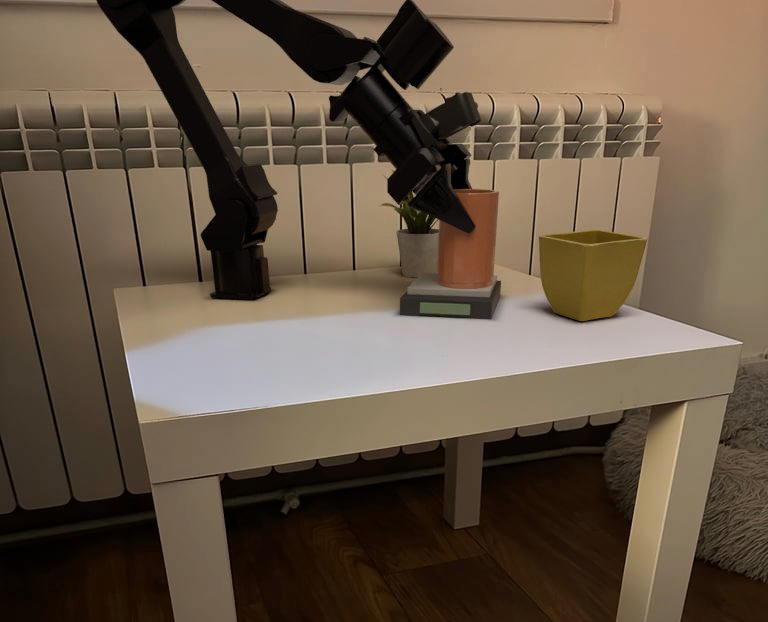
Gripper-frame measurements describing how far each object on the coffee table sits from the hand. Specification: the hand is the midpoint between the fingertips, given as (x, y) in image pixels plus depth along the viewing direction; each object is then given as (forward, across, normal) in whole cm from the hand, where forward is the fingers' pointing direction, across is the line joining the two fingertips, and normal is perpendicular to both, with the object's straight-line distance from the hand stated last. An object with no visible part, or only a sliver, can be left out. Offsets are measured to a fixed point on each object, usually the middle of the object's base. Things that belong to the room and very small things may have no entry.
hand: (478, 226), depth 87 cm
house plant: (-1, +19, +15) cm, 24 cm away
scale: (+5, 0, +9) cm, 10 cm away
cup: (+4, 0, +6) cm, 7 cm away
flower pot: (+16, -1, -3) cm, 16 cm away
